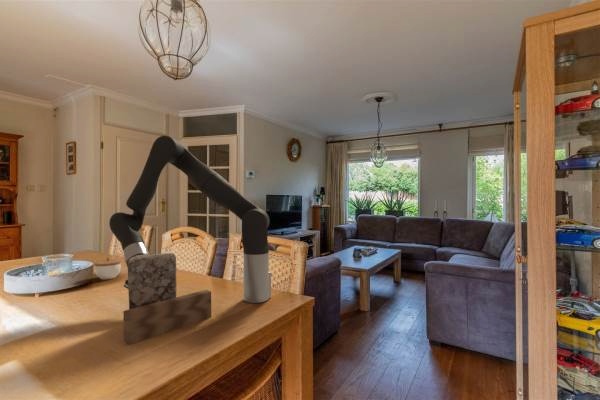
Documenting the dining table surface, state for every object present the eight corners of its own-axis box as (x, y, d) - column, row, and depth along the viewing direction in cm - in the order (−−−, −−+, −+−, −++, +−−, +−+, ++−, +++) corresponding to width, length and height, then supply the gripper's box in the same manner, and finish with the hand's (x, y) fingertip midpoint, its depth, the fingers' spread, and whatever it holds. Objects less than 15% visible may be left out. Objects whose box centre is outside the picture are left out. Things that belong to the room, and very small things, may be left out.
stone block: (127, 328, 86) (127, 259, 86) (130, 319, 92) (129, 255, 92) (177, 320, 91) (176, 255, 91) (176, 312, 98) (176, 251, 98)
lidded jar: (118, 273, 149) (118, 254, 149) (123, 277, 141) (123, 258, 141) (92, 277, 141) (92, 257, 141) (96, 282, 133) (96, 261, 133)
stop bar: (206, 314, 96) (206, 289, 96) (211, 316, 94) (211, 291, 94) (123, 341, 78) (123, 311, 78) (127, 345, 76) (127, 314, 76)
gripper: (119, 255, 96) (133, 302, 88) (160, 249, 106) (177, 291, 98) (113, 268, 100) (127, 315, 92) (154, 262, 109) (170, 303, 101)
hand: (153, 302), depth 95 cm, fingers closed
